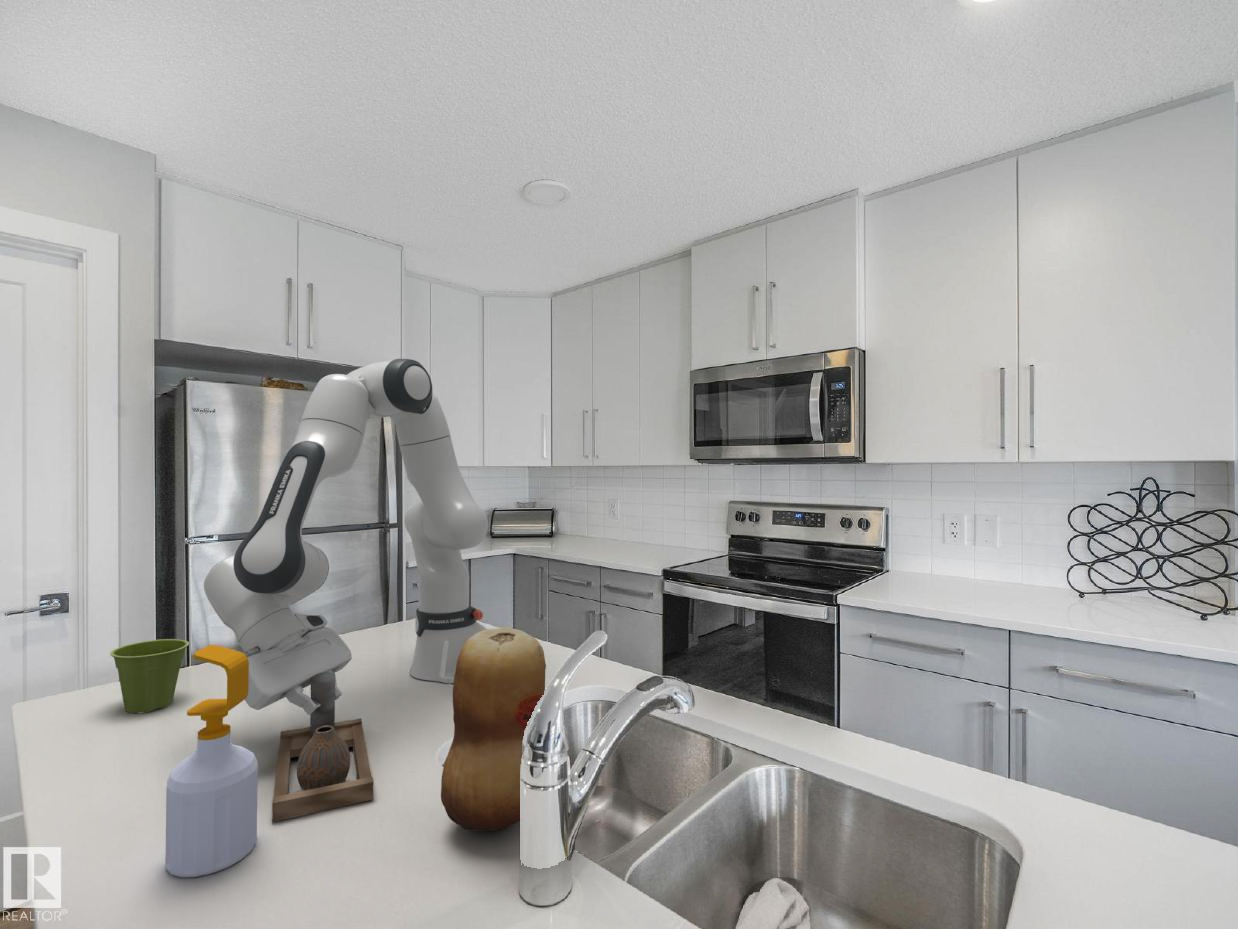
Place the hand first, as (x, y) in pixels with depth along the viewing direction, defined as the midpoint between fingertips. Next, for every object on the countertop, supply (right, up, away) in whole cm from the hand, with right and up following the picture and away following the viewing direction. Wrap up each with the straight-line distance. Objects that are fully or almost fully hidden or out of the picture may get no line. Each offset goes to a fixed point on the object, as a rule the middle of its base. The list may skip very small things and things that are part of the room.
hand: (326, 704), depth 98 cm
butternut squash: (+32, -8, -19) cm, 38 cm away
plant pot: (-42, -7, +16) cm, 45 cm away
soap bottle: (-1, -8, -26) cm, 27 cm away
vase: (+5, -8, -12) cm, 15 cm away
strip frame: (+3, -7, -7) cm, 11 cm away
